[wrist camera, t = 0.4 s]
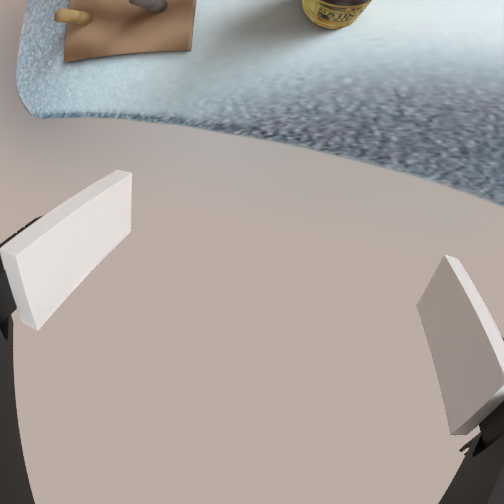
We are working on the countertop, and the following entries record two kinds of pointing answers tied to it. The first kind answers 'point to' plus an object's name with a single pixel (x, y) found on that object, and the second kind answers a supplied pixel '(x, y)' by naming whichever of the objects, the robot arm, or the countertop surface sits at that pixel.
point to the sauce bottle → (333, 12)
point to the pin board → (126, 27)
